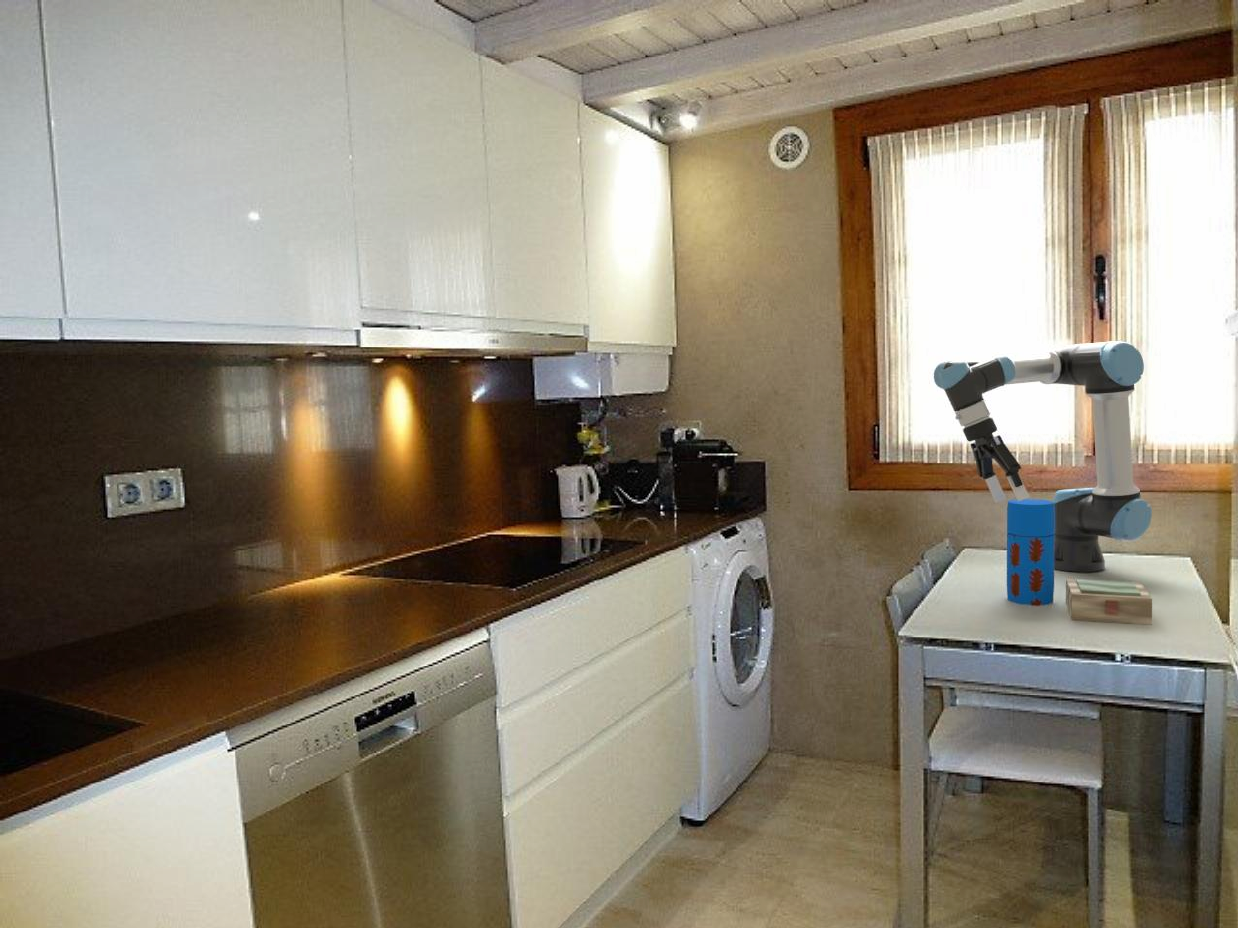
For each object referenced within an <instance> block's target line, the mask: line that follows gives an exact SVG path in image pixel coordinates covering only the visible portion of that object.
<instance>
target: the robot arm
mask: <svg viewBox="0 0 1238 928" xmlns="http://www.w3.org/2000/svg"><path fill="white" fill-rule="evenodd" d="M1144 363H1145V362H1144V359H1143V356H1142V354H1141V351H1139V349H1138V348H1136V347H1135V346H1134V345H1133V344H1132V343H1130V342H1125V341H1104V342H1103V341H1101V342H1093V343H1078V344H1072V345H1067V346H1064V347H1057V348H1053V349H1052V348H1051V349H1044V350H1042V351H1040V352H1039V353H1038V354H1037V353H1036V354H1026V355H1014V356H1008V355H1005V354H999V355H997V356H996V355H995V356H992V357H991V358H980V359H970V360H969V359H968V360H967V359H966V360H956V361H952V360H951V361H950V360H949V361H944V362H941V363H939V364H937V366H936V367H935V369H934V372H933V379H934V380H933V381H934V384H935V385H936V386H937V387H938V388H940V389H941V390H943V391H944V393H945V395H946V396H947V399H948V401H949V402H950V405H951V407H952V409H953V411H954V413H955V415H956V416H955V419H956V420H957V421H958V423H959V425H960V426H961V427H963V429H962V432H963V435H964V437H965V439H966V440H967V441H968V442H972V443H970V447H971V450H972V453H973V456H974V461H975V465H976V468H977V473H978V476H979V477H980V478H982V479H983V480H985V483H986V485H987V488H988V490H989V491H990V494H991V496H992V498H993V501H994V503H996V504H997V503H999V502H1001V501H1002V502H1003V501H1005V500H1006V499H1007V497H1006V495H1005V493H1004V491H1003V488H1002V487H1001V483H1000V482H999V479H998V477H997V473H996V472H995V471H994V468H993V467H994V465H993V464H994V463H993V460H994V461H995V463H997V464H998V465H999V466H1000V468H1001V469H1002V471H1003V472H1004V473H1005V478H1007V480H1008V483H1009V486H1010V488H1011V489H1012V491H1013V494H1014V495H1015V498H1016V499H1017V501H1021V500H1023V499H1029V498H1030V495H1029V492H1028V491H1027V488H1026V487H1025V483H1024V482H1023V480H1022V477H1021V475H1020V474H1019V472H1020V470H1021V469H1022V466H1021V465H1020V463H1019V462H1018V461H1017V459H1016V458H1015V456H1014V455H1013V454H1012V452H1011V451H1010V449H1009V448H1008V447H1007V444H1005V443H1004V441H1003V439H1002V437H1001V435H999V434H998V435H996V436H994V435H993V434H994V433H995V432H997V431H998V427H997V425H996V423H995V421H994V419H993V418H992V417H990V416H991V411H990V409H989V407H988V404H987V403H986V400H985V399H984V396H983V394H985V393H987V392H989V391H993V390H995V389H997V388H998V389H999V388H1000V387H1004V386H1005V385H1013V384H1024V383H1025V384H1027V383H1034V382H1035V383H1037V382H1040V383H1042V384H1044V385H1051V384H1053V385H1054V384H1056V385H1057V384H1058V385H1071V386H1083V387H1084V388H1085V392H1084V393H1085V395H1086V396H1087V397H1089V398H1090V399H1091V400H1092V401H1091V402H1092V413H1093V414H1092V415H1093V416H1092V417H1093V418H1092V419H1093V432H1094V448H1095V463H1096V464H1095V466H1096V481H1097V483H1096V484H1097V485H1096V486H1095V487H1085V488H1082V487H1081V488H1068V489H1067V488H1066V489H1059V490H1057V491H1055V493H1054V496H1053V502H1054V505H1055V558H1054V570H1057V571H1058V570H1059V571H1065V572H1079V573H1088V572H1089V573H1092V572H1094V573H1095V572H1100V571H1104V570H1105V566H1106V562H1105V557H1104V555H1103V551H1102V550H1101V546H1100V543H1099V537H1103V538H1110V539H1113V540H1117V541H1135V540H1138V539H1139V538H1141V537H1142V536H1143V535H1144V534H1145V533H1146V531H1147V530H1148V529H1149V527H1150V525H1151V523H1152V517H1153V512H1152V507H1151V505H1150V504H1149V502H1148V501H1146V500H1144V499H1143V498H1141V490H1140V488H1139V487H1137V486H1136V485H1135V483H1134V475H1133V459H1132V457H1133V455H1132V454H1133V453H1132V440H1131V438H1132V437H1131V420H1130V419H1131V418H1130V405H1129V403H1130V402H1129V397H1130V395H1131V394H1133V393H1134V391H1135V384H1137V383H1139V381H1140V380H1141V379H1142V375H1143V374H1144V369H1145V365H1144Z"/></svg>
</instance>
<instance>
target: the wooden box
mask: <svg viewBox="0 0 1238 928" xmlns="http://www.w3.org/2000/svg"><path fill="white" fill-rule="evenodd" d="M1065 605H1066V607H1067V610H1068V612H1069V613H1068V614H1069V615H1070V618H1071V621H1087V622H1101V623H1117V624H1118V623H1120V624H1134V625H1135V624H1137V625H1147V626H1148V625H1151V626H1152V624H1153V597H1152V596H1151V595H1150V593H1149V591H1147V589H1146V587H1144V585H1143V584H1142V583H1141V582H1135V581H1129V580H1128V581H1127V580H1104V579H1103V580H1101V579H1087V578H1085V579H1084V578H1075V579H1068V578H1066V579H1065Z"/></svg>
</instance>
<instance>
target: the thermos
mask: <svg viewBox="0 0 1238 928" xmlns="http://www.w3.org/2000/svg"><path fill="white" fill-rule="evenodd" d="M1006 532H1007V533H1006V595H1007V600H1008V601H1009V602H1012V603H1015V604H1018V605H1026V606H1047V605H1050V604H1053V602H1054V595H1055V593H1054V592H1055V569H1054V558H1055V505H1054V500H1053V501H1052V500H1048V499H1035V498H1026V499H1023V500H1021V501H1017V498H1016V499H1011V500H1008V501H1007V507H1006Z"/></svg>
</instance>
